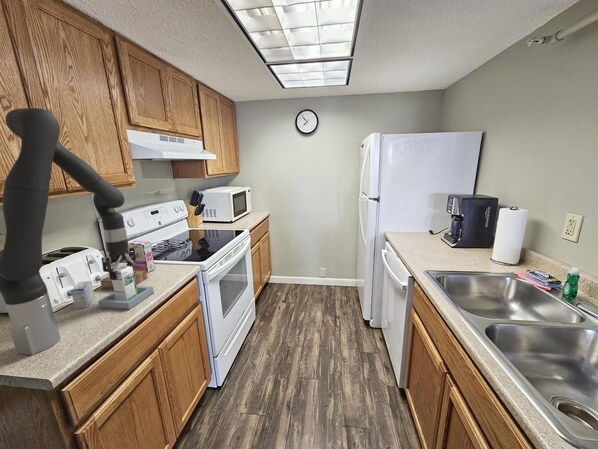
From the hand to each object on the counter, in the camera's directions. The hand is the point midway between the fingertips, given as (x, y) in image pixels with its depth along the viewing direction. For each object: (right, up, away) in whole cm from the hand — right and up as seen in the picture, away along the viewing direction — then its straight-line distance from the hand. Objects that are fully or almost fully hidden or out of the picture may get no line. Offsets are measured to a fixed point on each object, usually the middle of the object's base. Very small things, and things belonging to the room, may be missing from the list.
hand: (122, 275), depth 107 cm
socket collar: (-11, -8, +18) cm, 23 cm away
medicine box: (-16, -12, 0) cm, 20 cm away
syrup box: (0, -11, +2) cm, 11 cm away
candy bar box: (-12, -4, +34) cm, 36 cm away
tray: (0, -11, +3) cm, 12 cm away
